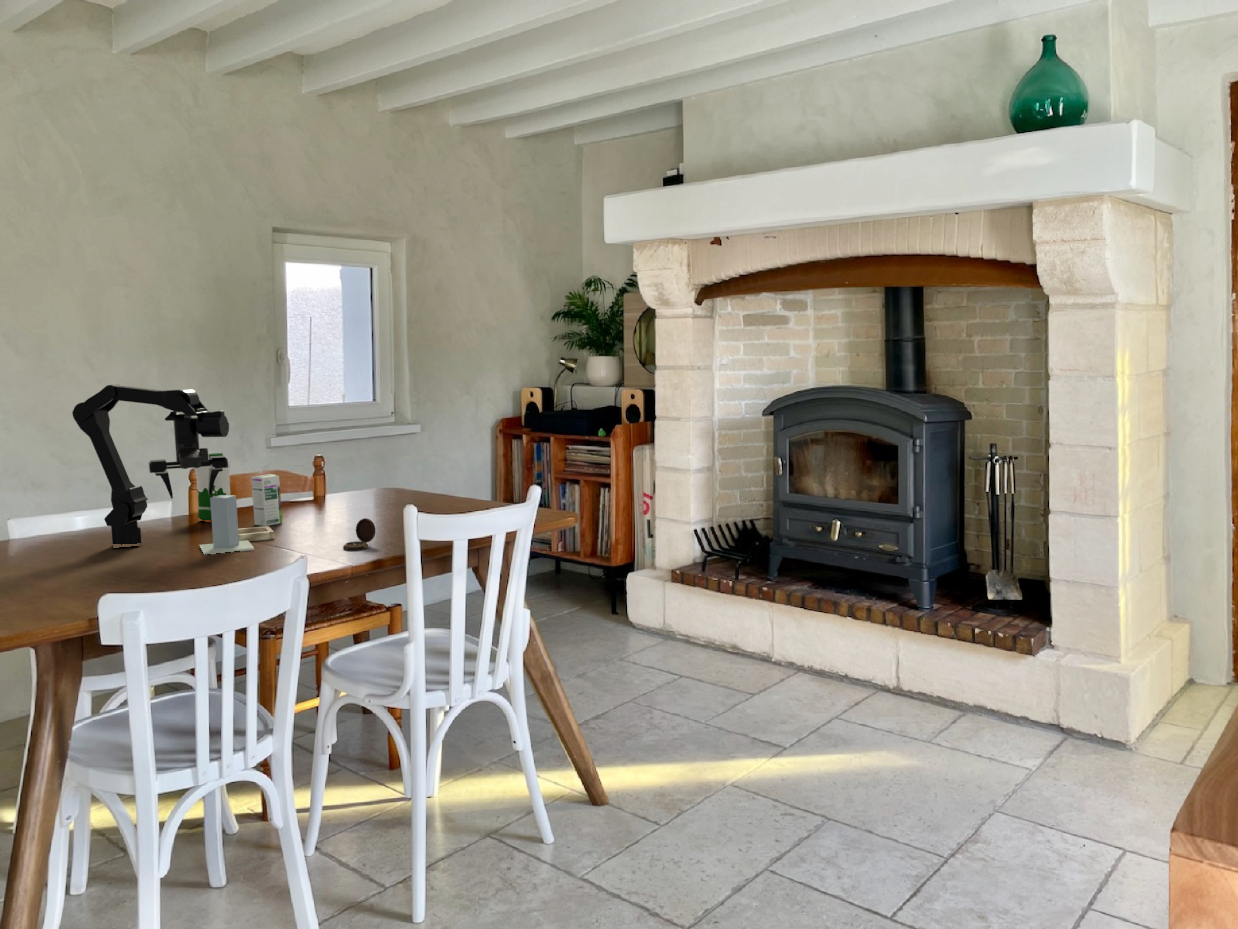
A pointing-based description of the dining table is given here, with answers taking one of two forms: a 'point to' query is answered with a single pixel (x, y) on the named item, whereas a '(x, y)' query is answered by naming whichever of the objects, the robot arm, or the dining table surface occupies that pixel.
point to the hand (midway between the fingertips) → (191, 496)
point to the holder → (256, 533)
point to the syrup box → (266, 500)
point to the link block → (224, 521)
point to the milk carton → (219, 488)
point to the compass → (362, 535)
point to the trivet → (242, 546)
